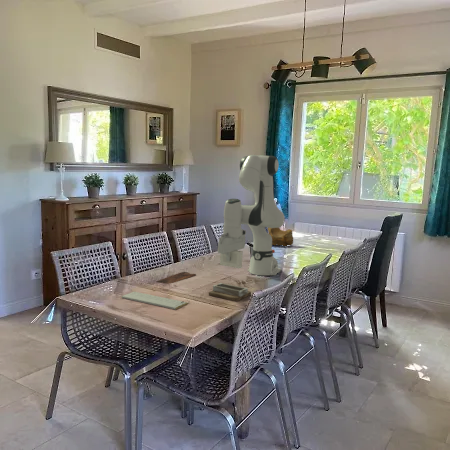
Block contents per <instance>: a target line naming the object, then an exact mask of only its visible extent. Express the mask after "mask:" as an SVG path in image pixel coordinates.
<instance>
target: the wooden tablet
mask: <svg viewBox="0 0 450 450" xmlns="http://www.w3.org/2000/svg"><path fill="white" fill-rule="evenodd" d="M195 276H197V274H196V273H190V272H188V271H181V272H179V273H175V274H173V275H170V276H167V277H163V278H161V279H158V280H157V281H156V283H159V284H167V285H169V284H173V283H177V282H180V281H183V280H185V279H189V278H192V277H195Z"/></svg>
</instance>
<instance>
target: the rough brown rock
mask: <svg viewBox="0 0 450 450" xmlns="http://www.w3.org/2000/svg"><path fill="white" fill-rule="evenodd" d="M267 232H268V234H270V235H271V237H272V245H274V246H279V245H283V246H287V245H291V246H292V245H293V244H294V237H293V230H292V229H290V228H289V229H286V230H282V229H281V227H279V228H268V227H267Z"/></svg>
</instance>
